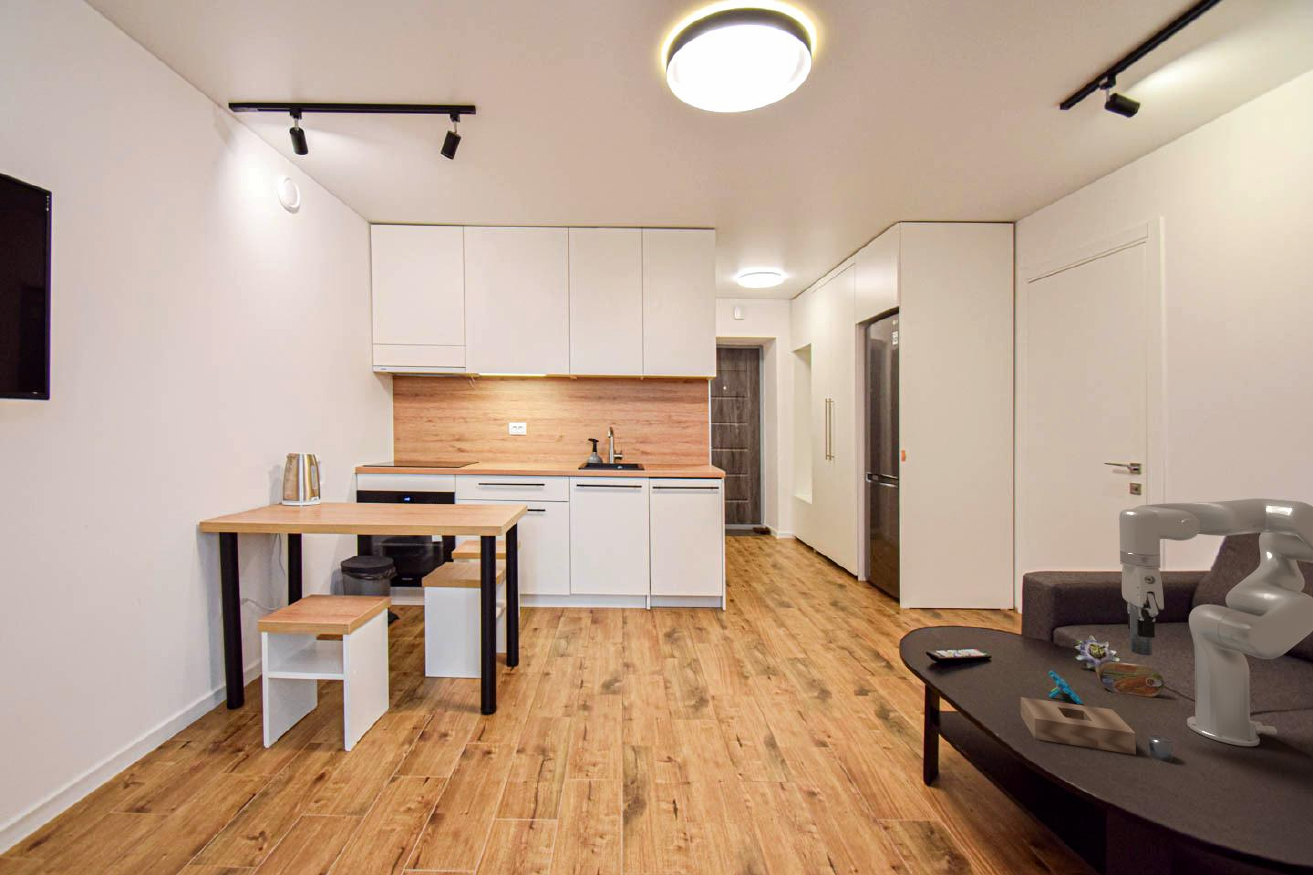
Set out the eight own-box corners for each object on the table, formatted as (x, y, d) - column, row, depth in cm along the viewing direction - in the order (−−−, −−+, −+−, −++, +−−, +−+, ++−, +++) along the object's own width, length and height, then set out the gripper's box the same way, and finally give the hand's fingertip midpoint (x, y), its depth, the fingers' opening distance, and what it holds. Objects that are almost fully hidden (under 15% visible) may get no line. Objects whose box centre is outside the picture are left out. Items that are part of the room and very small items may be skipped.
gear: (1085, 706, 147) (1053, 672, 152) (1066, 718, 149) (1035, 684, 154) (1082, 696, 156) (1052, 665, 161) (1064, 707, 158) (1035, 676, 163)
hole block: (1112, 729, 138) (1112, 709, 138) (1135, 754, 127) (1135, 733, 127) (1020, 715, 145) (1020, 697, 145) (1035, 738, 134) (1034, 718, 134)
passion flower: (1097, 689, 173) (1075, 658, 173) (1081, 669, 184) (1059, 640, 184) (1134, 673, 170) (1111, 642, 170) (1115, 654, 180) (1093, 625, 180)
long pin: (1147, 650, 136) (1146, 594, 136) (1155, 656, 132) (1154, 598, 133) (1127, 648, 138) (1126, 592, 138) (1135, 654, 134) (1134, 597, 134)
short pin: (1166, 753, 127) (1166, 736, 128) (1176, 763, 124) (1176, 745, 124) (1145, 750, 129) (1145, 733, 129) (1154, 759, 125) (1154, 742, 125)
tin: (1099, 690, 160) (1099, 661, 160) (1095, 686, 163) (1095, 657, 163) (1165, 699, 155) (1164, 669, 155) (1159, 694, 158) (1159, 665, 158)
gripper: (1177, 567, 126) (1179, 647, 126) (1141, 554, 142) (1142, 624, 142) (1137, 565, 129) (1139, 643, 128) (1106, 552, 144) (1107, 621, 144)
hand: (1141, 632), depth 135 cm, fingers closed on long pin, 4 cm apart
